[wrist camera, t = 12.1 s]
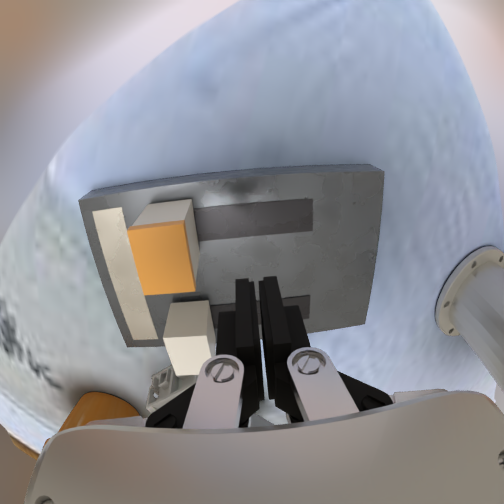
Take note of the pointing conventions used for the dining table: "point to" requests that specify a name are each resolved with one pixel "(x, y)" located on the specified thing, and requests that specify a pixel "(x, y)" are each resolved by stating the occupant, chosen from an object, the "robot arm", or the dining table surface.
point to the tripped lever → (166, 247)
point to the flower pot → (97, 410)
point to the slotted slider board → (249, 242)
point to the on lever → (189, 336)
